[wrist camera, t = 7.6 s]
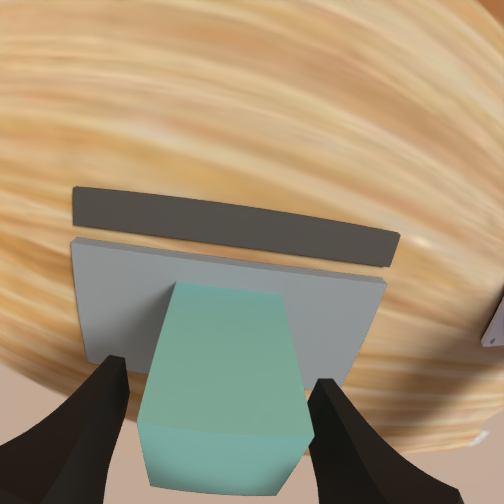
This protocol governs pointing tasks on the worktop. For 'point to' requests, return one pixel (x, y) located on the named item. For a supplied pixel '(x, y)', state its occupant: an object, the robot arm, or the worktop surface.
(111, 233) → the worktop surface
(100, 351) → the mat
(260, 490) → the block
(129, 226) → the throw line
